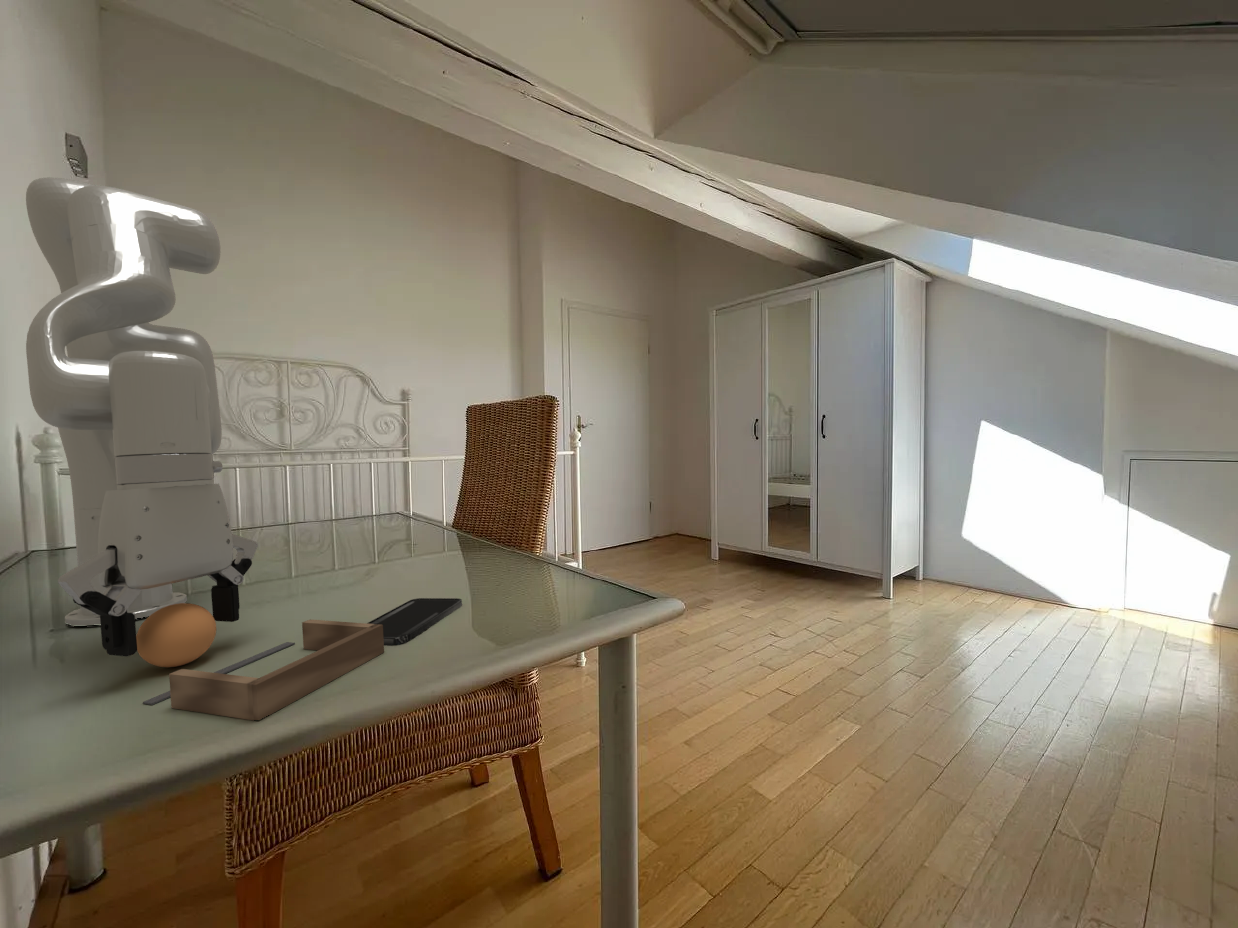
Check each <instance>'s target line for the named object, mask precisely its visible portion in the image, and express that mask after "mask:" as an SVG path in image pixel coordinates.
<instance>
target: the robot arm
mask: <svg viewBox="0 0 1238 928" xmlns="http://www.w3.org/2000/svg"><path fill="white" fill-rule="evenodd" d="M25 205H26V211H27V216H28V220H29V223H30V228H31V230H32V234H33V236H34V238H35V241H36V243H37V245H38V247H39V248H40V249H39V250H40V251H41V254H43V257H44V258H45V259H46V261H47V264H48V265H49V266H50V269H51V270H52V272H53V274H54V276H55V278H56V280H57V283H58V285H59V290H60V293H59V294H57V295H56V296H55V297H54V298H51V299H50V300H49V301H48V302H47V303H46V304H45V305H44V306H43V307H42V308H40V309H39V311H38V312H37V314H36V315H35V316H34V317H33V319H32V321H31V323H30V325H29V328H28V330H27V333H26V341H25V353H26V361H27V362H26V363H27V375H28V384H29V385H28V387H29V392H30V398H31V402H32V406H33V408H34V411H35V412H36V414H37V416H38V417H39V418H40V419H41V420H42V421H44V422H45V423H47V424H48V425H50V426H53V427H55V428H58V430H57V431H58V432H59V436H60V440H61V444H62V447H63V451H64V455H65V456H66V462H67V467H68V470H69V471H68V473H69V476H70V477H69V478H70V485H71V493H72V494H71V496H72V506H73V518H74V519H73V520H74V532H75V533H74V534H75V543H76V544H75V547H76V561H77V566H76V567H74V568H72V569H71V570H69V571H67V572H65V573H64V574H62V575H60V576H59V577H58V579H57V583H58V584H59V586H60V587H62V589H63V590H64V591H65V592H66V594H67V595H68V596H70V597H71V598H72V601H73V603H74V604H75V605H78V606H79V607H80V608H78V609H75V610H73V611H70V612H69V613H66V615H65V616H64V623H65V622H66V623H68V624H71V625H94V624H101V625H100V633H101V634H100V637H101V645H102V648H103V649H104V650H105V651H106V653H107V655H108V656H113V657H114V656H117V657H127V658H128V657H130V656H133V655H135V654H136V653H138V651H137V639H136V635H137V625H136V620H138V619H137V618H141V619H144V618H143V617H145V618H148V616H150V615H151V614H153V613H154V612H156V611H157V610H159V609H161V608H164V607H166V606H169V605H173V604H179V603H185V602H186V601H187V602H188V598H187V594H185V593H183V592H177V591H176V592H173V584H175V583H176V584H177V583H181V582H184V581H189V580H194V579H199V578H203V577H206V576H207V577H209V578H210V579H211V580H212V581H214V582H215V583H216V584H215V585H211V590H210V594H211V595H210V596H211V608H212V616H213V617H214V619H215V622H226V623H234V622H236V621H238V620H240V608H241V607H240V605H241V604H240V596H239V595H240V594H239V593H240V592H239V585H241V584H243V582H244V578H245V575H246V574H247V572H248V571H249V569H250V568H251V567H252V564H253V561H252V559H254V556H255V553H256V551H257V550H258V542H257V541H255V540H251V539H250V538H246V537H243V536H239V535H236V534H234V533H232V528H231V527H232V525H231V522H230V516H229V511H228V507H227V503H226V499H225V497H224V494H223V491H222V488H221V485H220V483H215V482H214V481H215V480H214V478H215V475H214V474H216V473H220V472H222V470H223V464H222V462H221V461H219V460H214V458H213V454H215V453H216V452H217V451H218V450H219V448H220V446H221V444H222V443H221V442H222V436H223V432H222V430H223V429H222V420H221V418H222V417H221V410H220V402H219V401H220V400H219V394H218V383H217V374H216V366H215V361H214V356H213V351H212V349H211V346H210V344H209V342H208V341H207V340H206V338H205V337H204V336H203V335H201V334H200V333H198V332H196V331H193V330H190V329H186V328H181V327H180V328H179V327H174V326H173V327H172V326H166V325H156V324H152V323H150V322H154V321H157V320H160V319H162V318H163V317H165V316H167V315H169V314H170V313H171V311H172V310H173V309H174V307H175V305H176V293H175V289H174V284H173V280H172V275H171V271H170V269H173V270H177V271H178V270H179V271H184V272H189V273H195V274H200V275H209V274H211V273H213V272H214V271H215V270H216V269H217V267H218V266H219V263H220V260H221V243H220V242H221V241H220V237H219V234H218V231H217V229H216V226H215V225H214V223H213V222H212V220H211V219H210V218H209V217H208V216H207V215H206V214H205V213H204V212H202V211H201V210H198V209H196V208H192V207H189V206H186V205H183V204H178V203H175V202H172V201H167V200H162V199H160V198H156V197H152V196H149V195H146V194H141V193H138V192H136V191H131V190H127V189H123V188H118V187H113V186H107V185H97V184H92V183H89V182H84V181H79V180H74V179H70V178H62V177H50V176H49V177H40V178H37V179H34V180H32V181H31V182H30V183H29V185H28V187H26V193H25ZM66 354H67V355H66ZM234 549H235V550H236V551H237V552H236V555H235V556H236V557H235V558H234ZM187 602H186V603H187ZM135 619H136V620H135Z"/></svg>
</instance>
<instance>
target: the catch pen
mask: <svg viewBox="0 0 1238 928" xmlns="http://www.w3.org/2000/svg"><path fill="white" fill-rule="evenodd" d="M367 623H368V622H365V623H364V622H353V621H352V622H351V621H337V620H334V621H333V620H322V619H311V618H310V619H307V620H305V621H302V622H301V626H302V628H301V629H302V644H303V650H308V651H309V650H311V651H314V652H312V653H309V654H307V655H306V656H303V657H301V658H299V659H297V660H295V661H293V662H291V663H288V664H287V665H284V666H282V667H279V668H277V669H276V670H272V672H269V673H267V674H264V675H263V676H262V675H261V677H253V676H244V675H235V674H228V673H226V674H220V673H214V672H210V671H203V670H196V669H195V670H193V669H186V668H181V669H177V670H175V671H173V672H171V673H170V672H169V673H168V674H169V675H168V677H169V678H168V679H169V691H170V695H171V697H170V703H171V704H170V707H171V709H176V710H182V711H190V712H195V713H201V714H202V713H203V714H209V715H216V716H222V717H228V718H229V717H230V718H236V719H240V720H249V721H254V720H260V719H262V718H263V719H265V718H267V717H269V716H271V715H272V714H274V713H276V712H278V711H280V710H282V709H284V708H286V707H287V706H289V705H290V704H292V703H294V702H296V701H297V700H300V699H302V698H304V697H305V696H307V695H309V694H311V693H313V692H315V691H317V690H318V689H320V688H322V687H324V686H326V685H327V684H328V683H330V682H332V681H334V680H336V679H338V678H339V677H342V676H343V675H346V674H347V673H349V672H350V671H353V670H355V669H357V668H358V667H359V666H362V665H363V664H366V663H367V662H369V661H371V660H372V659H374V658H377V657H378V656H380V655H381V654H384V653H385V645H384V638H383V625H380V624H367ZM268 715H269V716H268ZM266 716H267V717H266ZM264 717H265V718H264ZM263 719H262V720H263ZM260 721H261V720H260Z"/></svg>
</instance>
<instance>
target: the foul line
mask: <svg viewBox="0 0 1238 928" xmlns="http://www.w3.org/2000/svg"><path fill="white" fill-rule="evenodd" d="M293 645H296V643H295V642H291V641H286V642H284V643H282V644H279V645H277V646H274V647H272V648H271V647H270V648H269V649H267V650H264V651H262V652H259V653H257V654H255V655H253V656H250V657H247V658H245V659H243V660H240V661H238V662H235V663H234V664H231V665H228V666H226V667H223V668H221V669H219V670H216V671H213V673H220V674H228V673H230V672H233V671H236V670H237V669H240V668H242V667H245V666H247V665H249V664H251V663H254V662H257V661H258V660H261V659H263V658H265V657H268V656H271V655H273V654H275V653H278V652H280V651H282V650H284V649H286V648H288V647H291V646H293ZM169 698H170V699H171V695H170V690H168V691H166V692H163V693H161V694H159V695H157V696H154V697H151V698H149V699H147V700H144V701H142V704H143V705H150V706H153V705H156V704H158V703H161V702H162V701H165V700H168V699H169Z"/></svg>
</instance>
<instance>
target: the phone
mask: <svg viewBox="0 0 1238 928" xmlns="http://www.w3.org/2000/svg"><path fill="white" fill-rule="evenodd" d="M462 600H463V599H461V598H456V597H455V598H450V597H448V598H442V597H438V598H437V597H435V598H434V597H433V598H432V597H431V598H430V597H429V598H427V597H425V598H424V597H421V598H420V597H419V598H412V599H410V600H408V601H406V602H405V603H404V602H403V604H400V605H399V606H397V607H395V608H392V609H391V610H389V611H387V612H386V613H384V614H382V615H379V616H378V617H376V618H374V619H373V620H370V621H368V622H366V623H367V624H380V625H383V638H384V646H391V647H392V646H402V645H404V644H407V643H409V642H410V641H412V640H414V639H415V638H416V637H418V636H419V635H421V634H423V633H424V632H425V631H427V630H428V629H430V628H432V627H433V626H434V625H436V624H437V623H439V622H440V621H442V620H443V619H444V618H446V617H447V616H449V615H451V614H452V613H453V612H455V611H457V610H458V609H460V608H461V607H463V606H462V605H463V604H462V603H463V601H462Z"/></svg>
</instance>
